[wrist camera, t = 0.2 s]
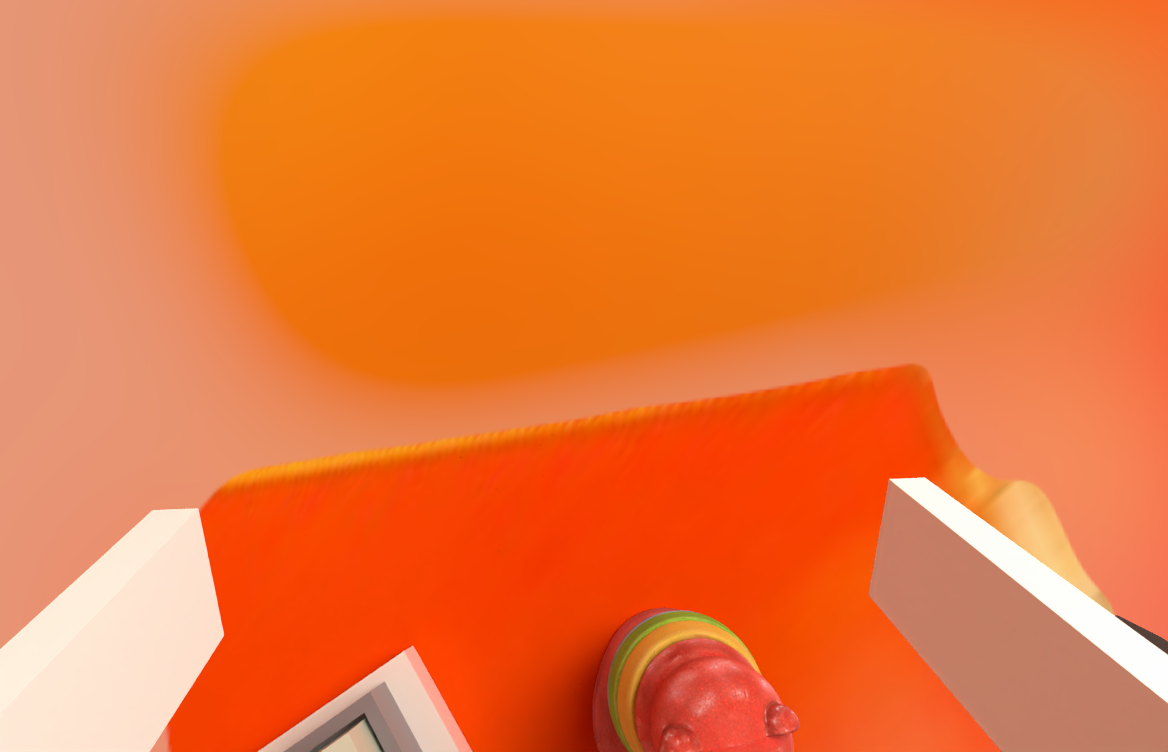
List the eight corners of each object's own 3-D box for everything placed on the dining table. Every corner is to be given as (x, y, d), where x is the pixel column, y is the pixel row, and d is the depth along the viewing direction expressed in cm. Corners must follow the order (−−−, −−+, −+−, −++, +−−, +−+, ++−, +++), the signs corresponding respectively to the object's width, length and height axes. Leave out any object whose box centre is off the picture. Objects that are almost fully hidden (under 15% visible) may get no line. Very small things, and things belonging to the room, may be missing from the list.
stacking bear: (595, 769, 42) (628, 908, 25) (584, 611, 45) (606, 640, 28) (750, 752, 43) (883, 876, 26) (728, 598, 46) (836, 618, 29)
